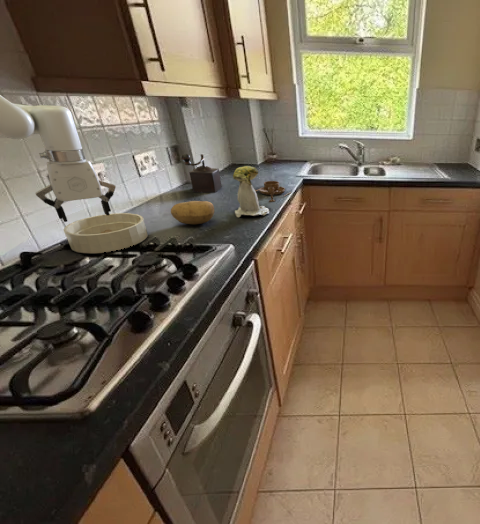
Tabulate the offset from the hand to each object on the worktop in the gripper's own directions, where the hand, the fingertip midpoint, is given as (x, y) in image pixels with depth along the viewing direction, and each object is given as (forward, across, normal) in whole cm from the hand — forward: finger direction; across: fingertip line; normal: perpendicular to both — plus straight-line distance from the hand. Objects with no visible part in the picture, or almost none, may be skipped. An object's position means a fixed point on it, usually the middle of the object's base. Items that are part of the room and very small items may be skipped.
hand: (86, 217), depth 96 cm
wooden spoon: (+8, +4, +1) cm, 9 cm away
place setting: (+7, +69, +18) cm, 71 cm away
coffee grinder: (+8, +50, +41) cm, 65 cm away
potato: (+8, +29, 0) cm, 30 cm away
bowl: (+9, +4, +1) cm, 10 cm away
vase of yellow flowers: (+8, +50, -2) cm, 50 cm away
